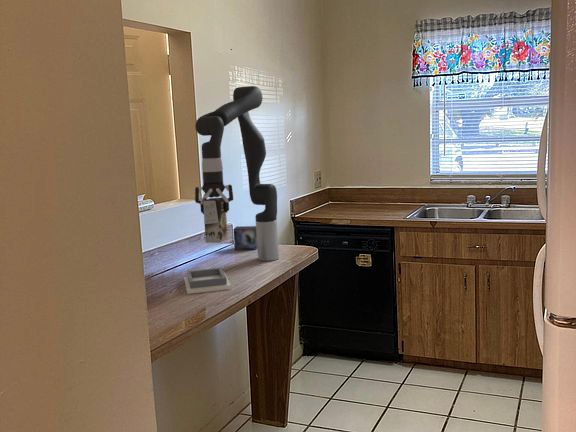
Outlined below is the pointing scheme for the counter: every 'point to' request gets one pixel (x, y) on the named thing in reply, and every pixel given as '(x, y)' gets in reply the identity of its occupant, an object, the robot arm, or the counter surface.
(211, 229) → the coffee box
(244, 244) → the small box
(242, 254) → the counter surface
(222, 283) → the socket stand
